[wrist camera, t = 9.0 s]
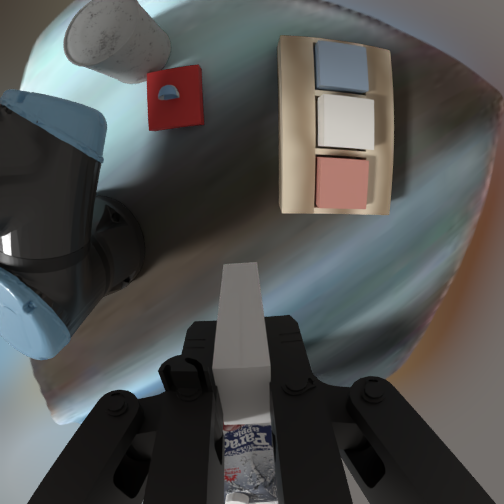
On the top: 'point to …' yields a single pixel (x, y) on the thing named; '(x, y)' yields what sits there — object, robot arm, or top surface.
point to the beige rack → (306, 128)
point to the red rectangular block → (175, 98)
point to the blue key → (340, 67)
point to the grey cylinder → (117, 40)
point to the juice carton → (249, 464)
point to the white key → (345, 122)
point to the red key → (341, 183)
